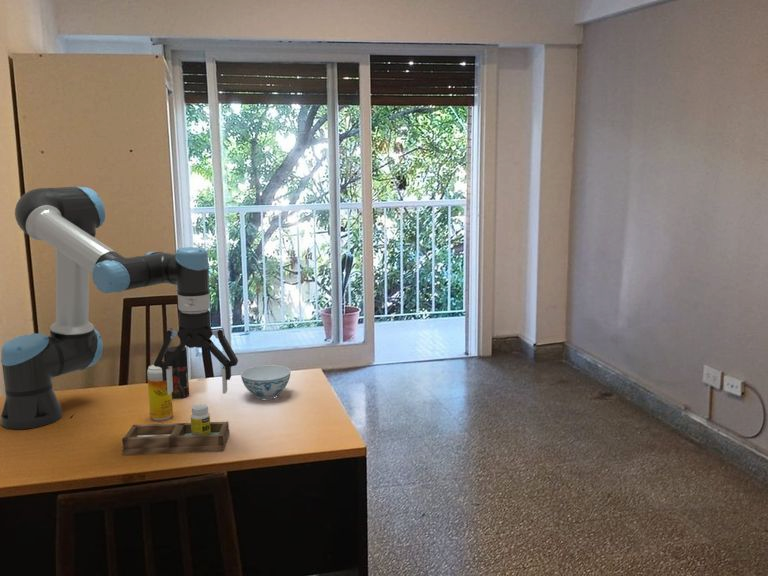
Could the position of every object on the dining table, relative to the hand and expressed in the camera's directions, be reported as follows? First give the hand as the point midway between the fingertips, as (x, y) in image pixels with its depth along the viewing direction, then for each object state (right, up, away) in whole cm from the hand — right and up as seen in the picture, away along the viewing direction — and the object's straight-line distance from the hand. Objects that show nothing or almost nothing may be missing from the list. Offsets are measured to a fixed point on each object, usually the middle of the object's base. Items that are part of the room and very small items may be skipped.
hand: (197, 392), depth 169 cm
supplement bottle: (0, -12, +2) cm, 12 cm away
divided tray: (-6, -13, +2) cm, 15 cm away
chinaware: (+11, -7, +37) cm, 39 cm away
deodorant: (-16, -7, +37) cm, 41 cm away
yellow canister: (-16, -10, +20) cm, 27 cm away
